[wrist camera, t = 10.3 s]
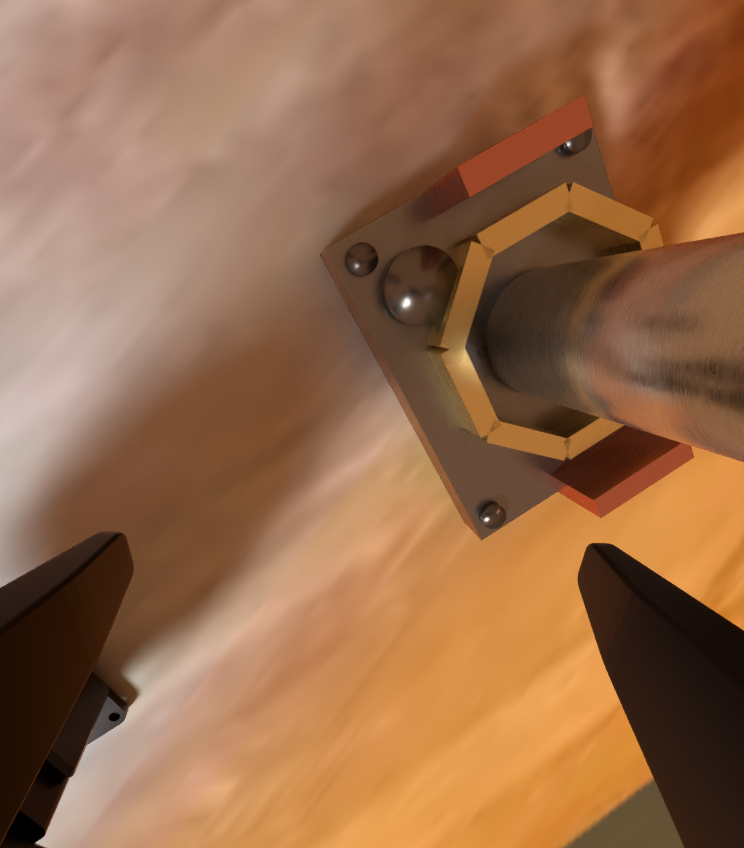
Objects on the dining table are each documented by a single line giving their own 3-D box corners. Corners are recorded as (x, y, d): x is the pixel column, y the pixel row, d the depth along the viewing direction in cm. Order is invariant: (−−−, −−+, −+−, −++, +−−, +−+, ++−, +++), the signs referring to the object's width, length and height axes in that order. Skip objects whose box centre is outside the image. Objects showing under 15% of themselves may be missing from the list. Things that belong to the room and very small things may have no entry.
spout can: (523, 419, 20) (960, 599, 7) (463, 317, 19) (904, 324, 6) (665, 310, 21) (1319, 305, 8) (620, 200, 19) (1374, -45, 6)
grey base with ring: (464, 522, 23) (514, 574, 19) (319, 254, 19) (337, 234, 14) (650, 403, 24) (743, 424, 19) (558, 119, 19) (651, 56, 15)
